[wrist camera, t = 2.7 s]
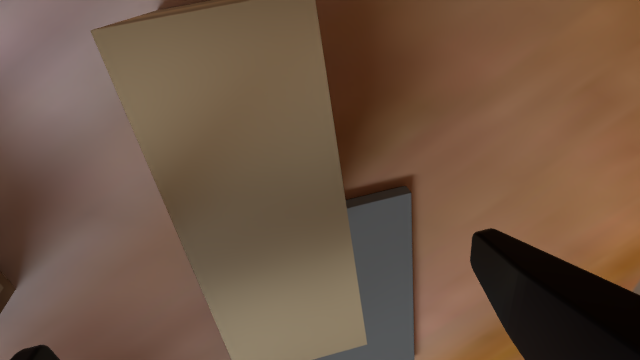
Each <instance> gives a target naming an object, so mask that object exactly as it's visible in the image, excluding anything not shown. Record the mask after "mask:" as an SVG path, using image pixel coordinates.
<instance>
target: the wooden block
mask: <svg viewBox="0 0 640 360" xmlns="http://www.w3.org/2000/svg"><path fill="white" fill-rule="evenodd" d="M91 33H92V35H93V38H94V40H95V42H96V45H97V47H98V49H99V52H100V54H101V56H102V59H103V61H104V63H105V66H106V68H107V70H108V73H109V75H110V77H111V80H112V82H113V84H114V87H115V89H116V91H117V94H118V96H119V98H120V101H121V103H122V105H123V108H124V110H125V112H126V115H127V117H128V119H129V122H130V124H131V126H132V129H133V131H134V133H135V136H136V138H137V140H138V143H139V145H140V147H141V150H142V152H143V154H144V157H145V159H146V161H147V164H148V166H149V168H150V171H151V173H152V175H153V178H154V180H155V182H156V185H157V187H158V189H159V192H160V194H161V196H162V199H163V201H164V203H165V206H166V208H167V210H168V213H169V215H170V217H171V220H172V222H173V224H174V227H175V229H176V231H177V234H178V236H179V238H180V241H181V243H182V245H183V248H184V250H185V252H186V255H187V257H188V259H189V262H190V264H191V266H192V269H193V271H194V273H195V276H196V278H197V280H198V283H199V285H200V287H201V290H202V292H203V294H204V297H205V299H206V301H207V304H208V306H209V308H210V311H211V313H212V315H213V318H214V320H215V322H216V325H217V327H218V329H219V332H220V334H221V336H222V339H223V341H224V343H225V346H226V348H227V350H228V353H229V355H230V357H231V360H313V359H317V358H320V357H324V356H328V355H331V354H335V353H338V352H342V351H346V350H349V349H353V348H356V347H360V346H364V345H367V340H366V333H365V326H364V320H363V313H362V306H361V300H360V293H359V286H358V280H357V273H356V267H355V260H354V253H353V247H352V240H351V233H350V227H349V220H348V214H347V207H346V200H345V194H344V187H343V180H342V174H341V167H340V161H339V154H338V147H337V141H336V134H335V127H334V121H333V114H332V108H331V101H330V94H329V88H328V81H327V74H326V68H325V61H324V54H323V48H322V41H321V35H320V28H319V21H318V15H317V8H316V1H315V0H210V1H205V2H199V3H194V4H189V5H183V6H178V7H173V8H167V9H162V10H157V11H153V12H150V13H147V14H143V15H140V16H137V17H134V18H130V19H127V20H124V21H120V22H117V23H114V24H110V25H107V26H104V27H101V28H97V29H94V30H91Z"/></svg>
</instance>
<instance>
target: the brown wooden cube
mask: <svg viewBox="0 0 640 360" xmlns="http://www.w3.org/2000/svg"><path fill="white" fill-rule="evenodd" d="M15 290H16V289H15V287H14V286H13V285H12V284H11V283H10V282H9V280H8V279H7V278H6V277H5V276H4V275H3V273H2V272H1V271H0V313H1V312H2V310H3V309H4V307H5V305H6V304H7V302H8V301H9V299H10V298H11V296H12V294H13V293H14V291H15Z"/></svg>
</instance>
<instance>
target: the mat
mask: <svg viewBox="0 0 640 360" xmlns="http://www.w3.org/2000/svg"><path fill="white" fill-rule="evenodd" d="M346 207H347V214H348V220H349V227H350V233H351V240H352V247H353V253H354V260H355V267H356V273H357V280H358V286H359V293H360V300H361V306H362V313H363V320H364V326H365V333H366V340H367V345H364V346H360V347H356V348H353V349H349V350H346V351H342V352H338V353H335V354H331V355H328V356H324V357H320V358H317V359H313V360H414V317H413V265H412V213H411V192H410V191H409V189H408V188H407V187H406V186H403V187H399V188H395V189H391V190H386V191H382V192H378V193H374V194H370V195H366V196H362V197H357V198H353V199H349V200H346Z"/></svg>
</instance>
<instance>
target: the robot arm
mask: <svg viewBox="0 0 640 360" xmlns="http://www.w3.org/2000/svg"><path fill="white" fill-rule="evenodd" d="M470 261H471V266H472V269H473V271H474V273H475V275H476V276H477V278H478V280H479V282H480V284H481V286H482V288H483V290H484V291H485V293H486V295H487V297H488V299H489V301H490V303H491V305H492V306H493V308H494V310H495V312H496V314H497V316H498V318H499V320H500V321H501V323H502V325H503V327H504V328H505V330H506V332H507V334H508V335H509V337H510V338H511V340H512V341H513V343H514V344H515V346H516V347H517V349H518V350H519V352H520V353H521V355H522V356H523V358H524V359H525V360H640V295H638V294H636V293H634V292H632V291H629V290H627V289H625V288H623V287H621V286H618V285H616V284H614V283H612V282H610V281H608V280H605V279H603V278H601V277H599V276H597V275H594V274H592V273H590V272H588V271H586V270H583V269H581V268H579V267H577V266H575V265H572V264H570V263H568V262H566V261H564V260H562V259H559V258H557V257H555V256H553V255H551V254H548V253H546V252H544V251H542V250H540V249H537V248H535V247H533V246H531V245H529V244H527V243H524V242H522V241H520V240H518V239H516V238H513V237H511V236H509V235H507V234H505V233H502V232H500V231H498V230H496V229H492V228H490V229H486V230H482V231H478V232H475V233H474V234H473V237H472V246H471V256H470ZM10 360H60V359H59V358H58V357H57V356H56V355H55V354H54V352H53V351H52V350H51V349H50V348H49V347H48V346H46V345H38V346H34V347H30V348H26V349H23V350H21V351H19V352H18V353H16V354H15V355H14V356H13V357H12V358H11V359H10Z"/></svg>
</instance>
